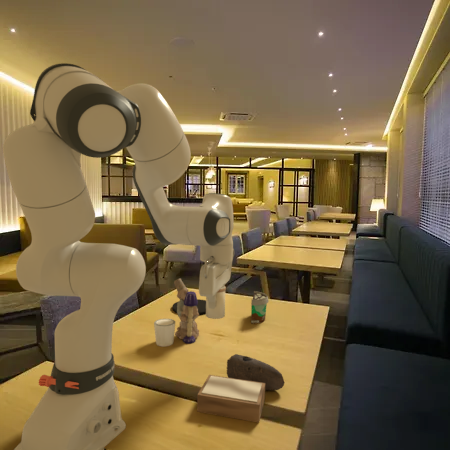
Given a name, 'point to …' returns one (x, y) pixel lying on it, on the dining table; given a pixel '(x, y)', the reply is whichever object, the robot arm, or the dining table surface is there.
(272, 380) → the brown oblong lump
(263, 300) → the food container
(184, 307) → the figurine
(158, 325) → the shot glass
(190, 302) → the toy lamp
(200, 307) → the wireless charger
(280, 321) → the dining table surface
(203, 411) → the walnut plinth
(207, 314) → the cream canister
